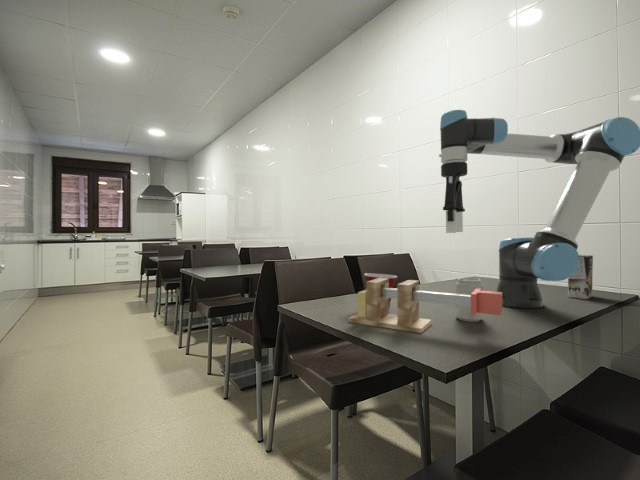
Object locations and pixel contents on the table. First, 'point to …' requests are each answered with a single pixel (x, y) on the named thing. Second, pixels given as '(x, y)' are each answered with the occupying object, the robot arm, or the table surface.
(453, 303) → the shaft
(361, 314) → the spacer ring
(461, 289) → the can
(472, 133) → the robot arm
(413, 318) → the bearing stand
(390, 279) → the plastic cup
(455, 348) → the table surface
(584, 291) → the coffee box
